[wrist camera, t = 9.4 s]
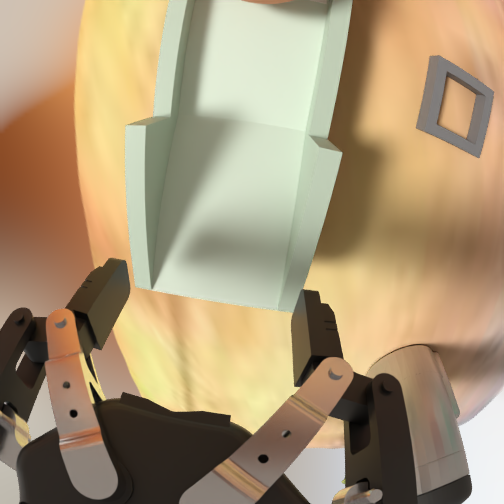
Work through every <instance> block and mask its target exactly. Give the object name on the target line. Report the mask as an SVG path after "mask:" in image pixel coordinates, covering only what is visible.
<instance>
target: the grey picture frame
mask: <svg viewBox="0 0 504 504" xmlns="http://www.w3.org/2000/svg"><path fill="white" fill-rule="evenodd" d="M446 76H448V77H450V78H451V79H453V80H455V81H456V82H458V83H460V84H461V85H463V86H464V87H466V88H468V89H469V90H471V91H472V92H474V93H475V94H476V99H475V105H474V110H473V114H472V119H471V124H470V128H469V132H468V136H467V140H466V139H464V138H462V137H461V136H459V135H457V134H455V133H453V132H451V131H449V130H447V129H445V128H443V127H441V126H439V125H437V120H438V115H439V111H440V106H441V101H442V96H443V91H444V86H445V80H446ZM493 95H494V91H492V90H491V89H490V88H488V87H487V86H486V85H484V84H483V83H482V82H480V81H479V80H477V79H476V78H475V77H473V76H472V75H470V74H469V73H467V72H466V71H464V70H463V69H461V68H459V67H458V66H456V65H455V64H453V63H451V62H450V61H448V60H446V59H444V58H443V57H441V56H439V55H438V56H430V59H429V66H428V72H427V78H426V83H425V89H424V94H423V99H422V104H421V108H420V113H419V117H418V121H417V125H416V128H417V129H419V130H422V131H424V132H426V133H429V134H431V135H433V136H435V137H437V138H440V139H442V140H444V141H446V142H448V143H450V144H452V145H454V146H456V147H458V148H460V149H462V150H464V151H466V152H468V153H469V154H471V155H473V156H475V157H477V158H480V154H481V151H482V147H483V143H484V139H485V135H486V131H487V127H488V122H489V117H490V112H491V107H492V101H493Z"/></svg>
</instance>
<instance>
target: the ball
mask: <svg viewBox="0 0 504 504" xmlns="http://www.w3.org/2000/svg"><path fill="white" fill-rule="evenodd" d="M242 1H246V2H250V3H257V4H278V3H284V2H290V1H293V0H242Z"/></svg>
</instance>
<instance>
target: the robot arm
mask: <svg viewBox="0 0 504 504" xmlns="http://www.w3.org/2000/svg"><path fill="white" fill-rule="evenodd" d="M129 294H130V282H129V275H128V269H127V263H126V261H125V260H120V259H115V258H109V259H108V261H107V262H106V263H105V264H104V266H103V267H100V266H99V267H98V268H96V269H95V270H94V271H92V272H91V273H90V274H89V275H88V277H87V278H86V279H85V281H84V282H83V284H82V285H81V287H80V288H79V289H78V290H77V292H76V293H75V295H74V296H73V297H72V299H71V300H70V302H69V303H68V305H67V306H66V307H65V308H64V309H63V308H61V309H57V310H55V311H53V312H52V313H51V314H50V315H49V316H48V317H33V315H32V313H31V311H30V310H29V309H27V308H19V309H16V310H15V311H13V312H12V313H11V314H10V316H9V317H8V319H7V320H6V322H5V324H4V325H3V327H2V328H1V330H0V460H1V461H2V462H4V463H5V464H7V465H8V466H9V467H11V468H12V469H14V470H16V471H17V477H18V482H19V490H20V502H19V504H310V503H309V502H308V501H307V499H306V498H305V497H304V496H303V495H302V494H301V493H300V492H299V490H298V489H297V488H296V487H295V486H294V485H293V483H292V482H291V481H290V480H289V479H288V478H287V477H286V475H285V474H284V472H285V471H286V469H287V468H288V467H289V466H290V465H291V464H292V463H293V462H294V460H295V459H296V458H297V457H298V456H299V454H300V453H301V452H302V451H303V449H304V448H305V447H306V446H307V445H308V444H309V442H310V441H311V440H312V439H313V437H314V436H315V435H316V433H317V432H318V431H319V429H320V428H321V427H322V426H323V424H324V423H325V421H326V420H327V417H328V416H331V417H334V418H338V419H341V420H344V440H345V489H342V490H340V491H339V492H338V493H337V494H336V495H335V496H334V498H333V500H332V504H462V503H463V502H464V501H465V500H466V499H467V498H468V497H469V496H470V495H471V492H472V483H471V478H470V475H468V474H469V469H468V463H467V459H466V454H465V451H464V446H463V442H462V438H461V435H460V431H459V427H458V424H457V420H456V418H458V417H459V415H460V411H459V408H458V404H457V401H456V399H455V396H454V393H453V390H452V387H451V384H450V382H449V379H448V376H447V374H446V371H445V369H444V366H443V364H442V361H441V359H440V356H439V354H438V352H432V350H431V349H430V348H429V347H427V346H423V345H415V346H409V347H405V348H402V349H399V350H397V351H394V352H392V353H390V354H388V355H386V356H385V357H383V358H382V359H380V360H379V361H378V362H376V363H375V364H374V365H373V366H372V367H371V368H370V369H369V371H368V373H367V375H366V376H363V375H360V374H357V373H355V372H353V369H352V367H351V366H350V364H349V363H348V362H346V361H345V360H344V358H343V353H342V348H341V343H340V338H339V334H338V331H337V330H338V329H337V324H336V320H335V315H334V312H333V311H332V309H331V308H330V306H329V305H328V304H324V303H321V300H320V295H319V292H318V291H312V290H305V289H302V290H301V291H300V294H299V297H298V300H297V303H296V306H295V309H294V311H293V315H292V320H291V333H292V351H293V372H294V387H300V389H299V390H298V391H297V392H296V393H295V394H294V395H292V396H291V397H289V398H288V400H287V401H286V402H285V403H284V404H283V405H282V406H281V407H280V408H279V409H278V410H277V411H276V412H275V413H274V414H273V415H272V416H271V418H270V419H269V420H268V421H267V422H266V423H265V424H264V425H263V426H262V427H261V428H260V429H259V430H258V431H257V432H256V433H255V434H254V435H252V434H251V433H250V432H249V431H248V430H246V429H244V428H243V427H241V426H239V425H237V424H235V423H232V422H230V418H231V415H225V414H218V413H211V412H205V411H193V412H173V411H170V410H168V409H166V408H164V407H162V406H160V405H158V404H156V403H154V402H152V401H150V400H148V399H146V398H142V397H138V396H135V395H131V394H127V393H125V392H123V393H122V395H121V398H116V399H115V398H114V399H107V400H106V398H105V396H104V394H103V392H102V389H101V387H100V383H99V380H98V377H97V373H96V370H95V367H94V363H93V359H92V355H91V351H92V349H93V348H96V349H99V350H102V348H103V346H104V344H105V342H106V340H107V338H108V336H109V334H110V332H111V330H112V328H113V326H114V324H115V322H116V320H117V318H118V316H119V314H120V313H121V311H122V309H123V307H124V305H125V303H126V301H127V300H128V297H129ZM23 350H24V352H25V355H24V357H23V359H22V361H21V363H20V365H19V367H18V369H17V371H16V369H15V368H16V364H17V362H18V360H19V358H20V356H21V354H22V352H23ZM45 376H47V382H48V388H49V393H50V399H51V404H52V409H53V413H54V417H55V421H56V425H57V427H56V428H54V429H52V430H50V431H49V432H47V433H45V434H43V435H42V436H40V437H38V438H36V439H35V440H33V441H31V436H30V434H29V428H28V425H27V421H28V419H29V416H30V413H31V411H32V408H33V405H34V403H35V400H36V398H37V395H38V393H39V390H40V388H41V385H42V383H43V381H44V378H45ZM30 441H31V442H30Z"/></svg>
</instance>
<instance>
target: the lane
mask: <svg viewBox="0 0 504 504" xmlns="http://www.w3.org/2000/svg"><path fill="white" fill-rule="evenodd" d="M352 2H353V0H293V1H290V2H284V3H278V4H257V3H250V2H246V1H242V0H169V4H168V8H167V13H166V18H165V24H164V29H163V35H162V41H161V48H160V55H159V62H158V70H157V79H156V88H155V99H154V111H153V117H151V118H147V119H144V120H141V121H137V122H134V123H131V124H128V125H126V127H125V180H126V202H127V217H128V229H129V240H130V249H131V257H132V265H133V273H134V280H135V286H136V287H138V288H143V289H148V290H153V291H159V292H164V293H169V294H174V295H180V296H185V297H191V298H197V299H203V300H209V301H215V302H221V303H227V304H234V305H241V306H247V307H254V308H262V309H269V310H277V311H284V312H292V313H293V311H294V309H295V306H296V303H297V300H298V297H299V294H300V291H301V290H302V289H303V287H304V284H305V281H306V278H307V275H308V272H309V269H310V266H311V262H312V259H313V256H314V253H315V250H316V247H317V243H318V240H319V237H320V234H321V230H322V227H323V223H324V220H325V217H326V213H327V210H328V206H329V203H330V199H331V195H332V192H333V188H334V184H335V181H336V177H337V173H338V169H339V165H340V161H341V157H342V152H341V151H340V150H339V149H338V148H337V147H336V146H335V145H333V144H332V143H331V142H330V141H329V140H328V134H329V130H330V125H331V120H332V116H333V111H334V106H335V101H336V96H337V91H338V86H339V81H340V76H341V70H342V65H343V59H344V53H345V48H346V42H347V36H348V29H349V23H350V16H351V9H352Z"/></svg>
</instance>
